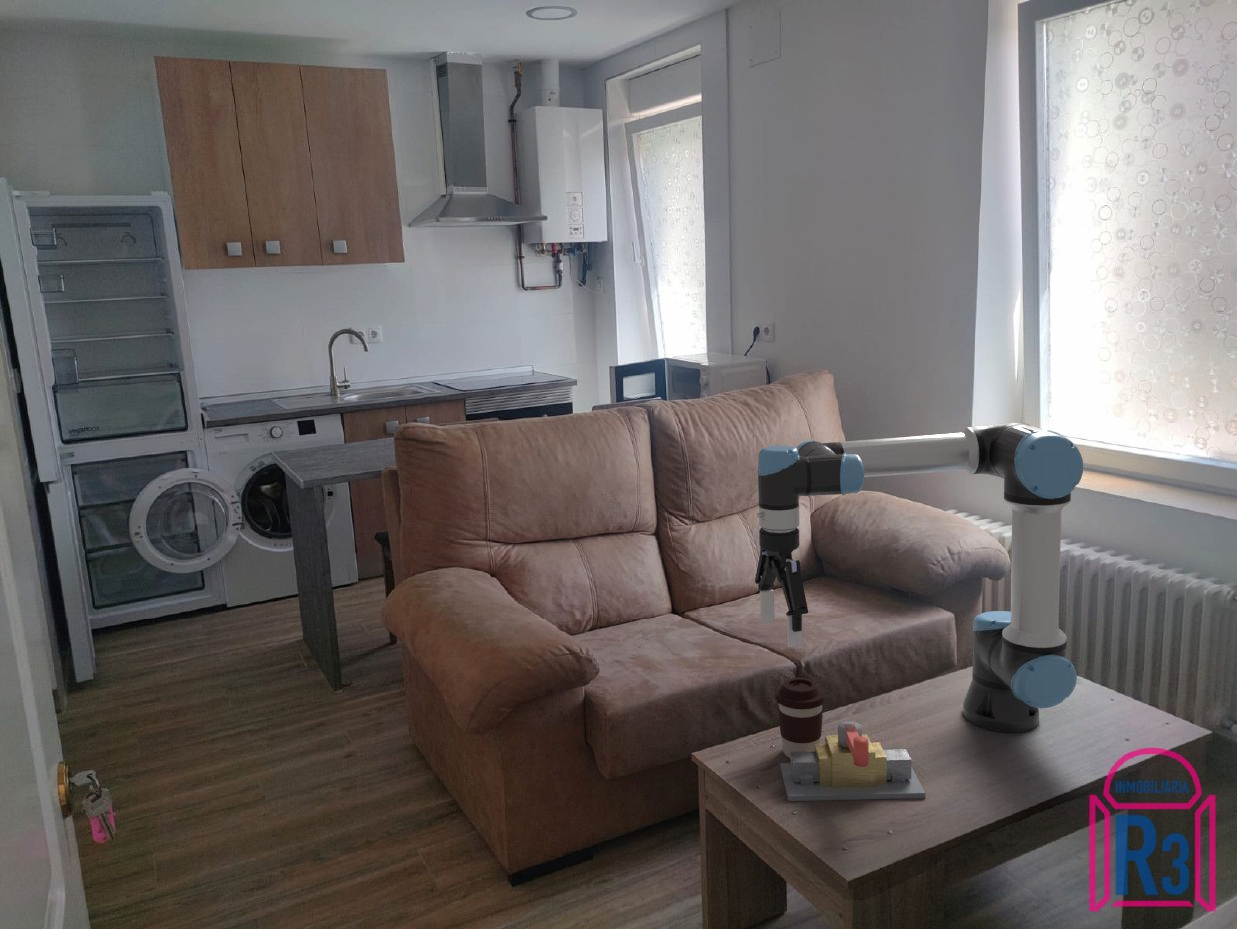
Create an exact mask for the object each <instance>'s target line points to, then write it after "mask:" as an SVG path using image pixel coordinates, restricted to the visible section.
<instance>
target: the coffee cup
mask: <svg viewBox="0 0 1237 929" xmlns="http://www.w3.org/2000/svg"><path fill="white" fill-rule="evenodd" d="M774 696H775V698H774V699H775V701H776V702H777V704H778V707H777V712H778V722H779V723H778V724H779V731H780V732H779V734H780V736H781V742H782V743H781V744H782V751H783V752H782V753H783V754H784V755H785V756H786V757H787V758H788V759H790V752H815V744H821V743H820V742H821V737H822V734H823V732H822V730H823V718H824V717H823V715H824V714H823V713H824V708H823V705H824V703H825V702H826V691H825V689H824V688H823V687H821V686H820V685H818V684H817V682H815V681H814V680H812V679H810V678H806V677H792V678H788V679H785V681H784V682H783V683H782V684H780V685H778V686H777V687H776V688H775V690H774Z"/></svg>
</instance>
